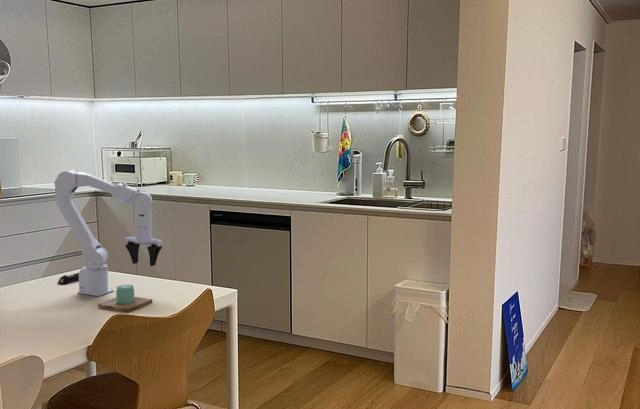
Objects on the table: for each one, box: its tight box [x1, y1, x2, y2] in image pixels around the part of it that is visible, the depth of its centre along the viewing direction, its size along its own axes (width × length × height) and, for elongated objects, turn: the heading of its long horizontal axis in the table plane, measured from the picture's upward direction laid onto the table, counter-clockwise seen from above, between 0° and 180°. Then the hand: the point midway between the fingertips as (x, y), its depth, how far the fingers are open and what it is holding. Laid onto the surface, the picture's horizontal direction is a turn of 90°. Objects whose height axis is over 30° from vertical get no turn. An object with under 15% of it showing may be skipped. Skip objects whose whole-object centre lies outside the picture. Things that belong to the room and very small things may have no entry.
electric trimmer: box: [57, 272, 79, 286], centre depth 229 cm, size 4×16×3 cm, turn 150°
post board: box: [97, 296, 153, 313], centre depth 198 cm, size 12×12×5 cm
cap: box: [115, 284, 135, 304], centre depth 198 cm, size 5×5×5 cm
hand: (144, 264), depth 213 cm, fingers open, 7 cm apart
